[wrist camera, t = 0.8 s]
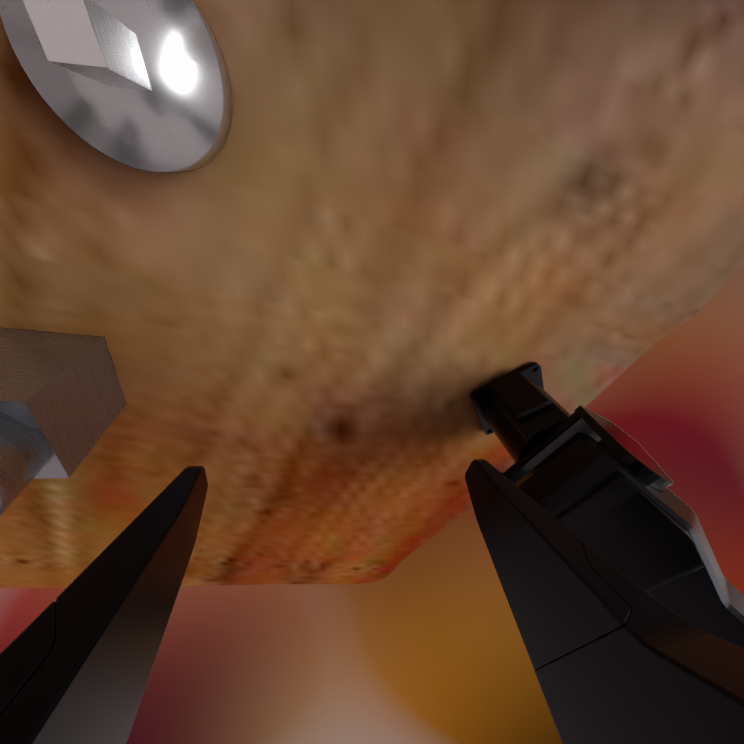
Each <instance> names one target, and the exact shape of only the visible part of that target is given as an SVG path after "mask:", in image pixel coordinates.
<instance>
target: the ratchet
mask: <svg viewBox="0 0 744 744" xmlns="http://www.w3.org/2000/svg"><path fill="white" fill-rule="evenodd" d="M0 16H1V19H2V22H3V25H4V29H5V31H6V34H7V36H8V39H9V41H10V43H11V46H12V48H13V50H14V52H15V54H16V56H17V58H18V60H19V62H20V64H21V66H22V68H23V69H24V71H25V72H26V74H27V76H28V77H29V79H30V81H31V82H32V84H33V85H34V87H35V88H36V89H37V91H38V92H39V93H40V95H41V96H42V98H43V99H44V100H45V101H46V103H47V104H48V105H49V106H50V107H51V109H52V110H53V111H54V112H55V113H56V114H57V115H58V116H59V117H60V118H61V119H62V121H63V122H64V123H65V124H66V125H67V126H68V127H69V128H71V129H72V130H73V131H74V132H75V133H76V134H77V135H79V136H80V137H81V138H82V139H83V140H85V141H86V142H87V143H89V144H90V145H91V146H93V147H94V148H96V149H97V150H99V151H100V152H102V153H104V154H105V155H107V156H109V157H111V158H113V159H115V160H117V161H119V162H121V163H123V164H126V165H128V166H131V167H134V168H138V169H142V170H146V171H154V172H185V171H191V170H195V169H198V168H200V167H203V166H204V165H206V164H208V163H209V162H210V161H212V160H213V159H214V158H215V157H216V156H217V155H218V154H219V152H220V151H221V150H222V148H223V146H224V144H225V143H226V140H227V138H228V135H229V132H230V128H231V124H232V115H233V97H232V89H231V83H230V78H229V73H228V70H227V66H226V63H225V60H224V57H223V54H222V52H221V50H220V47H219V45H218V42H217V40H216V38H215V36H214V34H213V32H212V31H211V29H210V27H209V25H208V24H207V22H206V20H205V19H204V17H203V15H202V14H201V12H200V11H199V9H198V8H197V6H196V5H195V3H194V2H193V0H0Z"/></svg>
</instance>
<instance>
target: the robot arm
mask: <svg viewBox="0 0 744 744" xmlns="http://www.w3.org/2000/svg"><path fill="white" fill-rule="evenodd" d="M470 398H471V401H472V403H473V406H474V408H475V411H476V413H477V416H478V419H479V421H480V424H481V426H482V429H483V431H484V432H485V434H487V435H488V434H491V433H495V434H496V436H497V437H498V438H499V440H500V441H501V443H502V444H503V445H504V447H505V448H506V450H507V451H508V452H509V454H510V455H511V457H512V458H513V459H514V461H515V463H514V464H513V465H512V466H511V467H510V468H508V469H507V470H506V471H505V472H504V473H503V472H502V473H500V472H499V471H498V470H497V469H496V468H494V467H493V466H492V465H491V464H490V463H488V462H487V461H486V460H483V459H475V460H473V461H472V463H471V464H470V466H469V468H468V470H467V471H466V474H465V479H466V483H467V487H468V490H469V494H470V498H471V501H472V505H473V508H474V512H475V515H476V518H477V521H478V524H479V527H480V530H481V532H482V535H483V537H484V540H485V542H486V545H487V548H488V551H489V553H490V555H491V558H492V561H493V564H494V566H495V569H496V571H497V574H498V576H499V579H500V582H501V584H502V587H503V590H504V592H505V595H506V597H507V600H508V603H509V605H510V608H511V610H512V613H513V616H514V618H515V621H516V623H517V626H518V629H519V631H520V634H521V637H522V639H523V642H524V644H525V647H526V649H527V652H528V655H529V657H530V660H531V662H532V665H533V667H534V669H535V673H536V676H537V679H538V681H539V684H540V686H541V689H542V692H543V694H544V697H545V700H546V702H547V705H548V707H549V710H550V712H551V715H552V718H553V720H554V723H555V725H556V728H557V730H558V733H559V736H560V739H561V741H562V744H744V596H743V595H742V594H741V593H740V592H739V591H738V590H737V589H736V588H735V587H734V586H732V585H731V584H730V583H729V582H728V581H727V580H726V579H725V578H724V576H723V575H722V572H721V570H720V568H719V565H718V563H717V561H716V559H715V556H714V554H713V552H712V550H711V547H710V545H709V543H708V541H707V538H706V536H705V534H704V532H703V529H702V527H701V525H700V523H699V520H698V518H697V516H696V514H695V512H694V511H693V510H692V509H691V508H690V507H689V506H688V505H686V504H685V503H684V502H683V501H682V500H681V499H680V498H678V497H677V496H676V495H675V494H674V493H673V492H671V491H670V490H669V489H668V488H667V487H669V486H670V485H672V484H673V481H672V480H671V479H670V478H669V476H668V475H667V474H666V473H665V472H664V471H663V470H662V469H661V467H659V465H658V464H657V463H656V462H655V461H654V460H653V459H652V458H651V456H650V455H649V454H648V453H647V452H646V451H645V450H644V449H643V448H642V446H641V445H640V444H639V443H638V442H636V441H635V440H634V439H633V438H631V437H630V436H629V435H628V434H626V433H625V432H624V431H622V430H621V429H620V428H619V427H617V426H616V425H615V424H613V423H612V422H611V421H609V420H607V419H605V418H603V417H602V416H599V415H598V414H596V413H594V412H592V411H590V410H588V409H586V408H584V407H583V406H581V405H580V406H579V407H578V408H577V409H576V410H575V412H574V413H573V414H572V415H571V414H569V413H568V412H567V411H566V410H565V409H564V408H563V407H562V406H561V405H560V404H559V403H558V402H557V401H555V400H554V399H553V398H552V397H551V396H550V395H549V394H548V393H547V392H546V391H545V390H544V388H543V380H542V373H541V367H540V365H539V364H538V363H536V362H533V363H531V364H529V365H527V366H525V367H522V368H520V369H518V370H516V371H514V372H512V373H510V374H508V375H506V376H504V377H502V378H500V379H498V380H496V381H494V382H492V383H490V384H488V385H486V386H484V387H482V388H480V389H478V390H476V391H474V392H472V393H471V395H470ZM207 487H208V483H207V478H206V473H205V469H204V467H203V466H189V467H187V468H185V469H184V470H183V471H182V472H181V473H180V474H179V475H178V476H177V477H176V478H175V479H174V480H173V481H172V482H171V483H170V484H169V485H168V486H167V487H166V489H165V490H164V491H163V492H162V493H161V494H160V495H159V496H158V497H157V498H156V499H155V500H154V501H153V502H152V503H151V504H150V505H149V506H148V507H147V508H146V509H145V510H144V511H143V512H142V513H141V514H140V515H139V516H138V517H137V518H136V519H135V520H134V521H133V522H132V523H131V524H130V525H129V526H128V527H127V528H126V529H125V530H124V531H123V532H122V533H121V534H120V535H119V536H118V537H117V538H116V539H115V540H114V541H113V542H112V543H111V544H110V545H109V546H108V547H107V548H106V549H105V550H104V551H103V552H102V553H101V554H100V555H99V556H98V557H97V558H96V559H95V560H94V561H93V562H92V563H91V564H90V565H89V566H88V567H87V568H86V569H85V570H84V571H83V572H82V573H81V574H80V575H79V576H78V577H77V578H76V579H75V580H74V581H73V582H72V583H71V584H70V585H69V586H68V587H67V588H66V589H65V590H64V591H63V592H62V593H61V594H60V595H59V596H58V597H57V599H56V602H52V603H51V604H50V605H49V606H48V607H47V608H46V609H45V610H44V611H43V612H42V613H41V614H40V615H39V616H38V617H37V618H36V619H35V620H34V621H33V622H32V623H31V624H30V625H29V626H28V627H27V628H26V629H25V630H24V631H23V632H22V633H21V634H20V635H19V636H18V637H17V638H16V639H15V640H14V641H13V642H12V643H11V644H10V645H9V646H8V647H7V648H6V649H5V650H4V651H3V652H2V653H0V744H126V742H127V739H128V736H129V734H130V731H131V728H132V725H133V722H134V719H135V716H136V713H137V710H138V707H139V704H140V701H141V699H142V696H143V693H144V690H145V687H146V684H147V681H148V678H149V676H150V673H151V670H152V667H153V664H154V661H155V658H156V655H157V652H158V650H159V646H160V644H161V641H162V638H163V635H164V632H165V629H166V626H167V623H168V620H169V617H170V615H171V612H172V609H173V606H174V603H175V600H176V597H177V595H178V591H179V589H180V586H181V583H182V580H183V577H184V574H185V571H186V569H187V566H188V563H189V560H190V557H191V554H192V551H193V548H194V545H195V541H196V537H197V532H198V528H199V524H200V519H201V515H202V510H203V506H204V502H205V497H206V493H207Z"/></svg>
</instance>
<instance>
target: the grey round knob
mask: <svg viewBox="0 0 744 744" xmlns="http://www.w3.org/2000/svg"><path fill="white" fill-rule="evenodd" d="M125 405H126V402H125V399H124V396H123V393H122V390H121V387H120V384H119V381H118V378H117V375H116V372H115V369H114V366H113V363H112V359H111V356H110V353H109V350H108V347H107V344H106V341H105V338H104V337H97V336H86V335H75V334H65V333H54V332H43V331H32V330H21V329H10V328H0V516H1V515H2V513H3V512H4V511H5V510H6V509H7V508H8V507H9V506H10V504H11V503H12V502H13V501H14V500H15V499H16V498H17V497H18V495H19V494H20V493H21V492H22V491H23V490H24V489H25V488H26V486H27V485H28V484H29V483H30V482H31V481H32V480H33V479H36V478H69V477H70V476H71V475H72V473H73V472H74V471H75V470H76V468H77V467H78V466H79V464H80V463H81V462H82V460H83V459H84V458H85V457H86V455H87V454H88V453H89V451H90V450H91V449H92V448H93V446H94V445H95V444H96V442H97V441H98V440H99V439H100V437H101V436H102V435H103V433H104V432H105V431H106V429H107V428H108V427H109V426H110V424H111V423H112V422H113V420H114V419H115V418H116V417H117V415H118V414H119V413H120V411H121V410H122V409H123V408H124V406H125Z"/></svg>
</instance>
